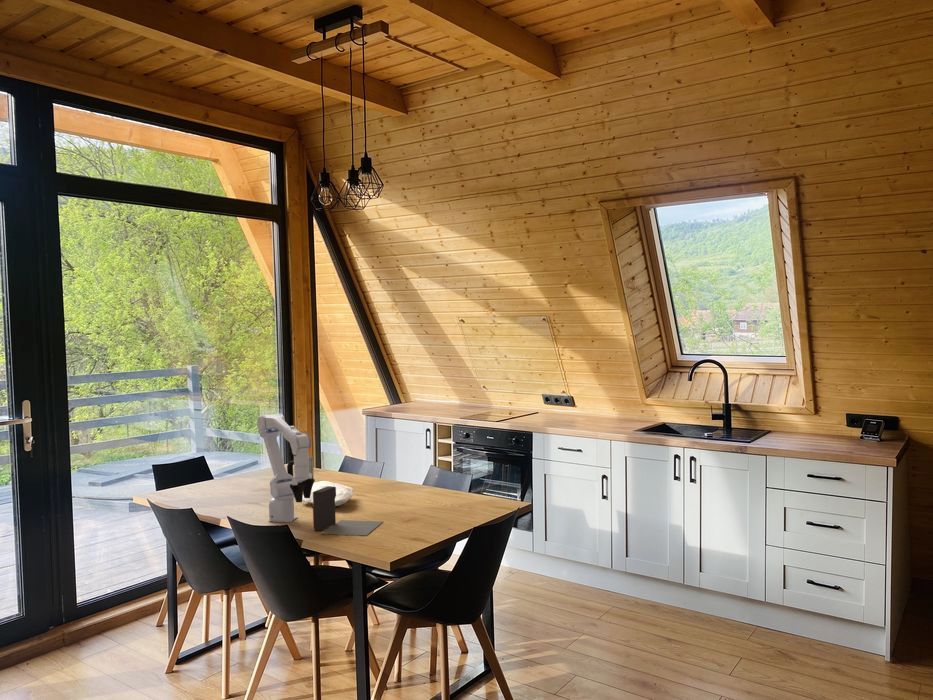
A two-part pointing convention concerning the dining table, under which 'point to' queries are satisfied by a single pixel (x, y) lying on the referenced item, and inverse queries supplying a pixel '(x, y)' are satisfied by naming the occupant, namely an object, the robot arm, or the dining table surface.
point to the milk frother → (291, 463)
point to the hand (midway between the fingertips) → (303, 500)
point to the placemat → (352, 527)
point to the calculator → (324, 508)
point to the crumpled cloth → (341, 492)
